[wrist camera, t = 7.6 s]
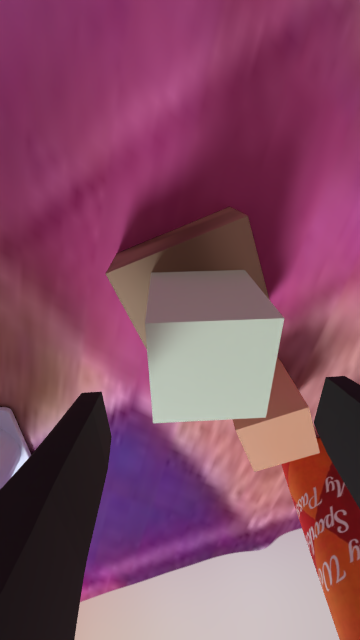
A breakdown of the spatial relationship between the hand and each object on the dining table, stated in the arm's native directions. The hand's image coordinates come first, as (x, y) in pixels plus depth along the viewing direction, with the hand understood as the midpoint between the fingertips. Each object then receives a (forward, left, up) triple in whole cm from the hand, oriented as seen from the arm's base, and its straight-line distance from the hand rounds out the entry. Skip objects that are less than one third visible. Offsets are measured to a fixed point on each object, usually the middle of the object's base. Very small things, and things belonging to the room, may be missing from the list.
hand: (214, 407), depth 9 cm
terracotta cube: (+5, -8, -10) cm, 14 cm away
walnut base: (0, +1, -10) cm, 10 cm away
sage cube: (0, 0, -6) cm, 6 cm away
